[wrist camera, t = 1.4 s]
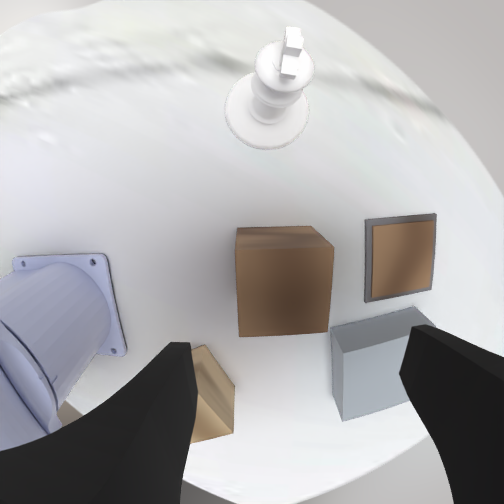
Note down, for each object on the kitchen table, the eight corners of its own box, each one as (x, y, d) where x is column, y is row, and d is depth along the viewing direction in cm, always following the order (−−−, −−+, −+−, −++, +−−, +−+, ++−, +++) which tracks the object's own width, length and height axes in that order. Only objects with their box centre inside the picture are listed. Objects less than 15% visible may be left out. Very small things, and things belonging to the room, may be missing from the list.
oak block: (187, 401, 22) (177, 446, 17) (155, 362, 21) (138, 407, 16) (234, 385, 21) (233, 433, 16) (204, 344, 20) (195, 390, 15)
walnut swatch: (364, 301, 19) (366, 303, 19) (365, 219, 18) (367, 220, 17) (430, 288, 19) (432, 290, 19) (435, 213, 18) (438, 214, 17)
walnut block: (240, 295, 19) (239, 337, 14) (237, 227, 18) (234, 249, 13) (308, 293, 19) (327, 332, 14) (310, 225, 18) (334, 247, 13)
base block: (332, 392, 22) (342, 421, 19) (329, 325, 20) (343, 353, 17) (405, 371, 22) (421, 395, 19) (412, 304, 20) (435, 325, 17)
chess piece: (311, 79, 15) (378, 1, 6) (303, 155, 17) (374, 142, 7) (230, 68, 15) (217, -28, 5) (220, 144, 16) (188, 113, 7)
